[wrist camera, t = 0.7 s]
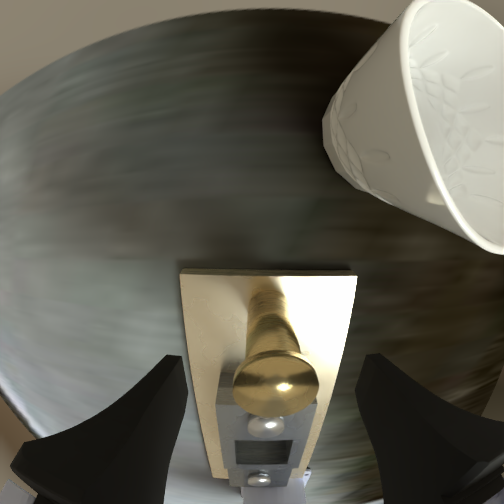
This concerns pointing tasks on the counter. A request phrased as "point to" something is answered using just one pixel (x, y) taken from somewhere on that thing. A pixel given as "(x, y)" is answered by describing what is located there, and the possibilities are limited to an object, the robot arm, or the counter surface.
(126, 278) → the counter surface
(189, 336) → the door lock with knob
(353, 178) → the white cup
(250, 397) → the brass knob
